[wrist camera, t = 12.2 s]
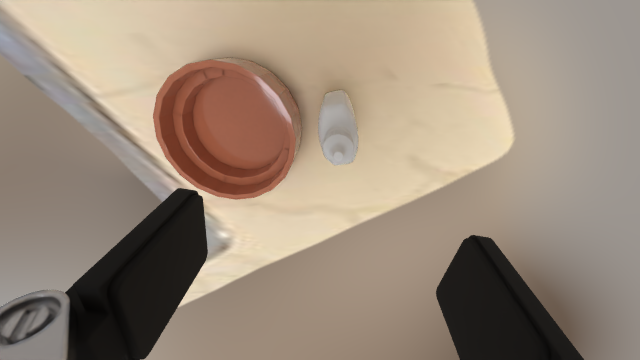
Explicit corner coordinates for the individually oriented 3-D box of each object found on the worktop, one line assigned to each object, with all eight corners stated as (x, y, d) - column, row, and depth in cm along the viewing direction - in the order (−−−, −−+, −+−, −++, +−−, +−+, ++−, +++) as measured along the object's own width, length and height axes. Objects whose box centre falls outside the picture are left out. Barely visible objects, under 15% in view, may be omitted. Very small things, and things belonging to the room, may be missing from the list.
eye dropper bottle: (366, 97, 28) (383, 129, 17) (347, 144, 30) (352, 197, 20) (328, 84, 27) (321, 108, 17) (312, 132, 30) (298, 180, 19)
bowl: (174, 47, 27) (142, 47, 22) (309, 70, 27) (303, 75, 22) (187, 169, 33) (163, 187, 29) (294, 187, 34) (288, 208, 29)
